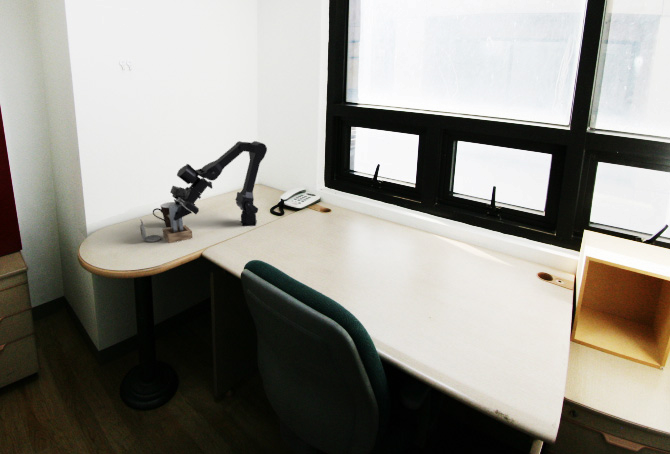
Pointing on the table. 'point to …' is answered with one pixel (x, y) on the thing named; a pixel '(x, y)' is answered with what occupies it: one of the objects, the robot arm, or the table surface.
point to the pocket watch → (148, 238)
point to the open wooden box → (177, 234)
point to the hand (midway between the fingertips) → (172, 218)
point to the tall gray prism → (173, 223)
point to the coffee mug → (165, 213)
